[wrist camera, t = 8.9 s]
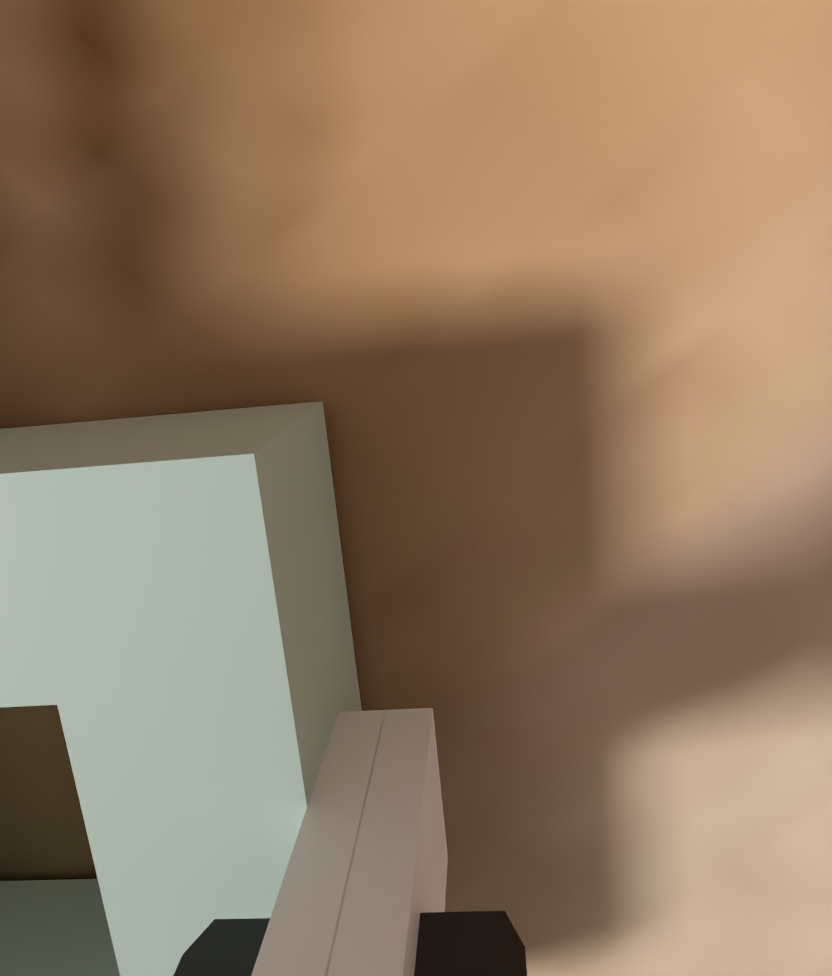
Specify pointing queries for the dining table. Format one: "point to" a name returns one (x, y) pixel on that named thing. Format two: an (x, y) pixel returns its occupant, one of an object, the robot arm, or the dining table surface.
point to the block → (171, 667)
